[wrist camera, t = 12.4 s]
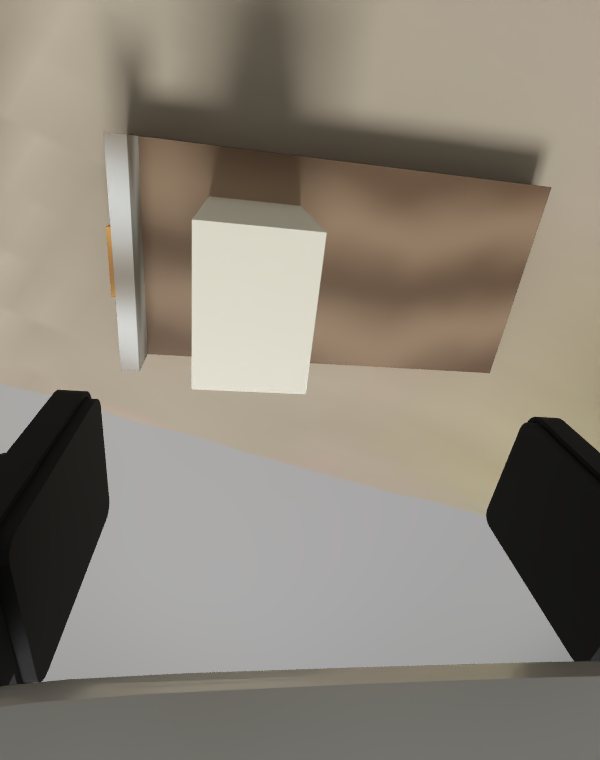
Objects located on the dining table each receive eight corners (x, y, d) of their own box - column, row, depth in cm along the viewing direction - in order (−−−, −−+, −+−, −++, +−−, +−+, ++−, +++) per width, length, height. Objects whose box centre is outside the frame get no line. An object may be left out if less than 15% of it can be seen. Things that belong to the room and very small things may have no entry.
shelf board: (120, 133, 24) (96, 131, 20) (531, 184, 28) (579, 191, 24) (132, 340, 30) (115, 370, 26) (476, 361, 33) (508, 390, 29)
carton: (300, 205, 25) (326, 232, 17) (288, 324, 28) (305, 394, 20) (208, 196, 24) (190, 219, 16) (206, 319, 27) (190, 389, 19)
